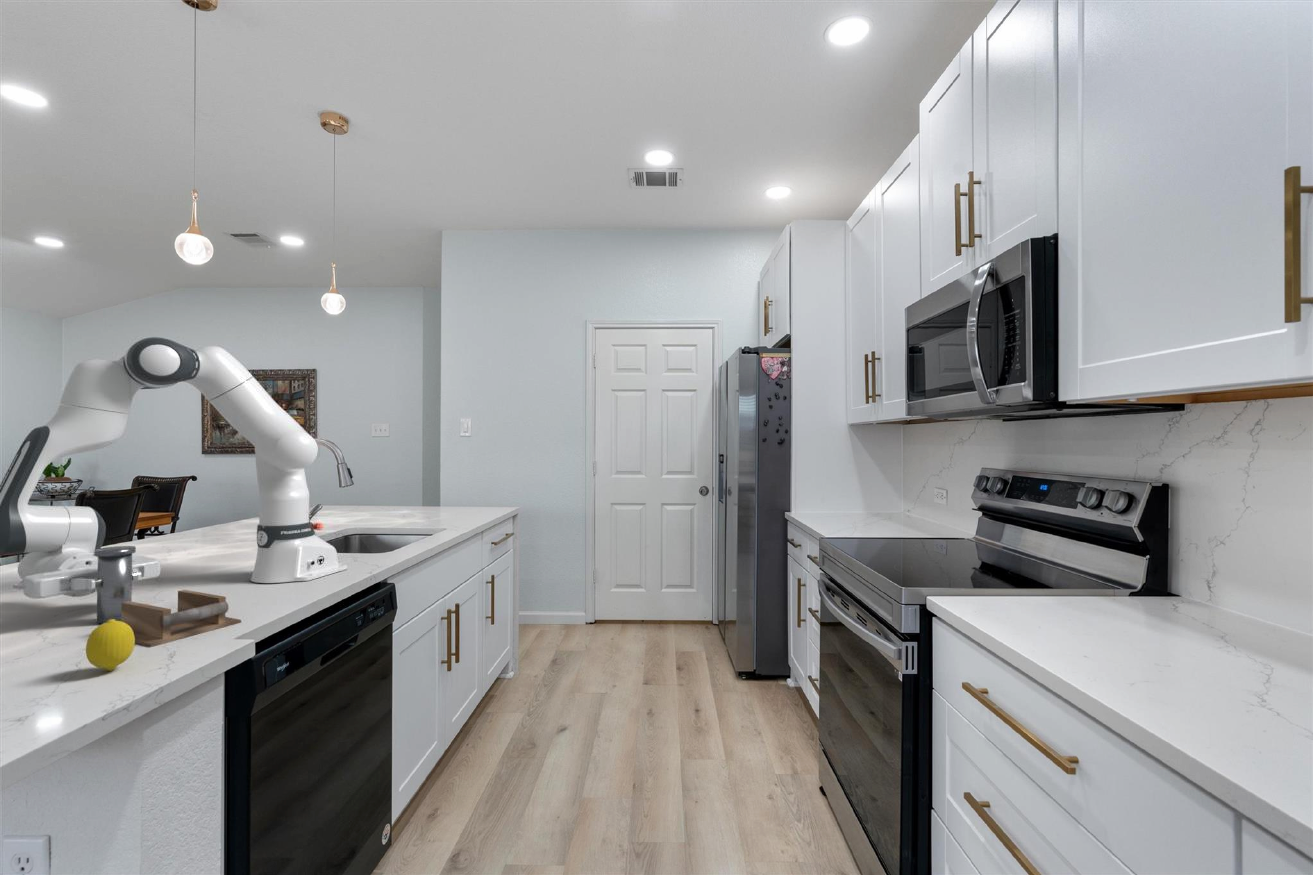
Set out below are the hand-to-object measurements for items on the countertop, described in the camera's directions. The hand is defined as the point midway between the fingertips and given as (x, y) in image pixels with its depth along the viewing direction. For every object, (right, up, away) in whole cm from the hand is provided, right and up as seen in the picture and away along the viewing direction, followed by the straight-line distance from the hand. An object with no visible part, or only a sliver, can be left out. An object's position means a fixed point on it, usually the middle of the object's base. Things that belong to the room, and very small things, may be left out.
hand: (117, 580), depth 114 cm
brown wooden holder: (+15, -8, -4) cm, 17 cm away
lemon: (+21, -8, -24) cm, 33 cm away
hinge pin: (-1, -8, 0) cm, 8 cm away
